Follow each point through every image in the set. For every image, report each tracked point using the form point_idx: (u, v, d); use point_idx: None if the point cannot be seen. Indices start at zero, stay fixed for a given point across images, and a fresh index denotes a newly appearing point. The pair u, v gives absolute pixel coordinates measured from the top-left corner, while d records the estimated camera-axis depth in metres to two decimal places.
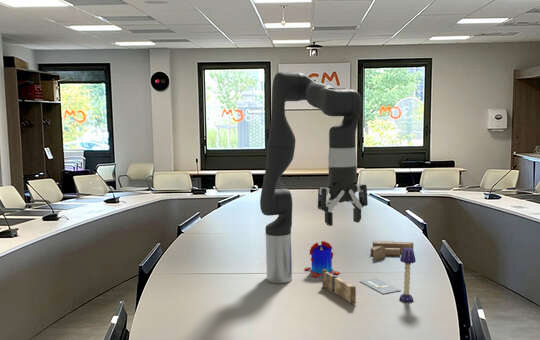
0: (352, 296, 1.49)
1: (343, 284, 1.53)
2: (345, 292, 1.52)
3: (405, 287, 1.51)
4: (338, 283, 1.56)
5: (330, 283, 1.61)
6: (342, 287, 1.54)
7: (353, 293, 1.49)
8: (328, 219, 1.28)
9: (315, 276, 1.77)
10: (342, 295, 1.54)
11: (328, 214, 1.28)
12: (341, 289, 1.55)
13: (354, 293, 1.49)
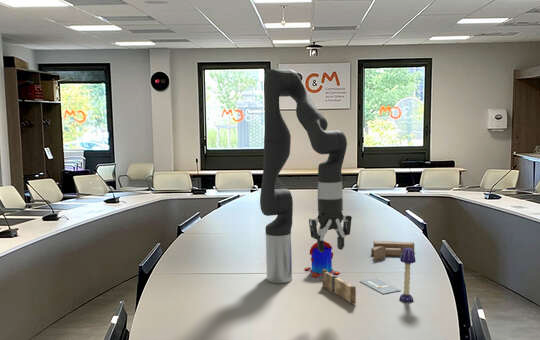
0: (352, 296, 1.49)
1: (343, 284, 1.53)
2: (345, 292, 1.52)
3: (405, 287, 1.51)
4: (338, 283, 1.56)
5: (330, 283, 1.61)
6: (342, 287, 1.54)
7: (353, 293, 1.49)
8: (320, 246, 1.45)
9: (315, 276, 1.77)
10: (342, 295, 1.54)
11: (320, 242, 1.45)
12: (341, 289, 1.55)
13: (354, 293, 1.49)
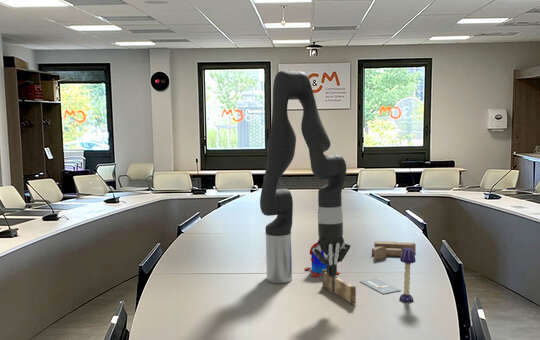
0: (352, 296, 1.49)
1: (343, 284, 1.53)
2: (345, 292, 1.52)
3: (405, 287, 1.51)
4: (338, 283, 1.56)
5: (330, 283, 1.61)
6: (342, 287, 1.54)
7: (353, 293, 1.49)
8: (329, 271, 1.47)
9: (315, 276, 1.77)
10: (342, 295, 1.54)
11: (329, 267, 1.47)
12: (341, 289, 1.55)
13: (354, 293, 1.49)
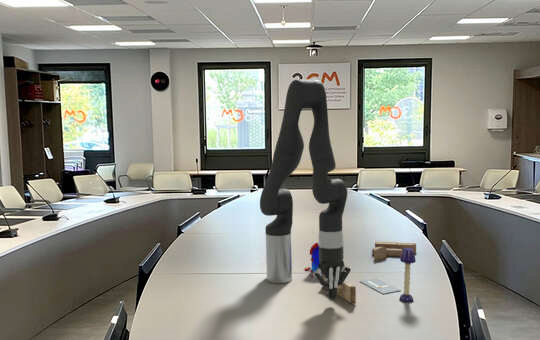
0: (352, 296, 1.49)
1: (343, 284, 1.53)
2: (345, 292, 1.52)
3: (405, 287, 1.51)
4: None
5: None
6: (342, 287, 1.54)
7: (353, 293, 1.49)
8: (329, 294, 1.48)
9: None
10: (342, 295, 1.54)
11: (329, 290, 1.48)
12: (341, 289, 1.55)
13: (354, 293, 1.49)
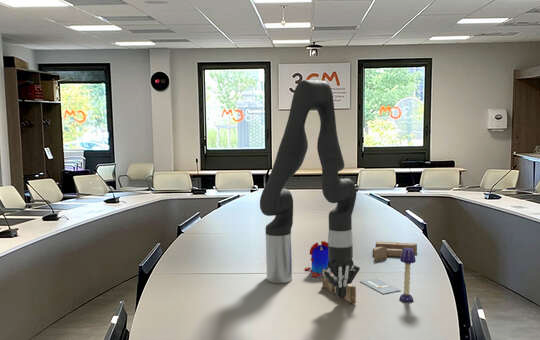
0: (352, 296, 1.49)
1: None
2: None
3: (405, 287, 1.51)
4: None
5: None
6: None
7: (353, 293, 1.49)
8: (339, 293, 1.49)
9: (315, 276, 1.77)
10: None
11: (339, 289, 1.49)
12: None
13: (354, 293, 1.49)
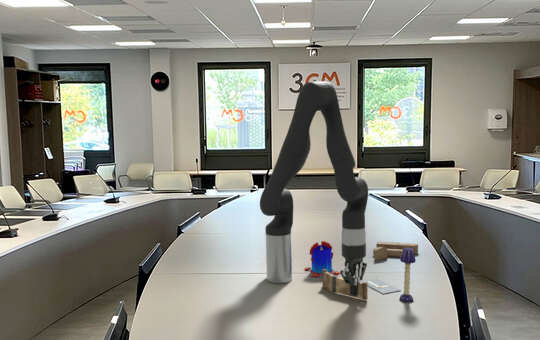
0: (365, 292, 1.52)
1: None
2: None
3: (405, 287, 1.51)
4: (342, 282, 1.57)
5: (330, 283, 1.61)
6: (348, 285, 1.55)
7: (366, 289, 1.52)
8: (354, 291, 1.50)
9: (315, 276, 1.77)
10: (349, 293, 1.56)
11: (354, 287, 1.50)
12: (347, 288, 1.56)
13: (367, 289, 1.52)
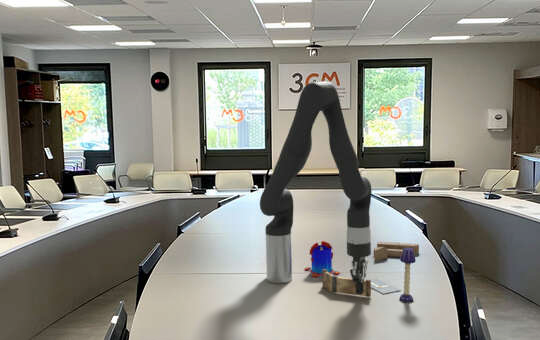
0: (369, 289, 1.54)
1: None
2: None
3: (405, 287, 1.51)
4: (344, 281, 1.58)
5: (330, 283, 1.61)
6: (351, 284, 1.57)
7: (370, 286, 1.54)
8: (360, 289, 1.52)
9: (315, 276, 1.77)
10: (351, 292, 1.57)
11: (360, 285, 1.52)
12: (349, 286, 1.57)
13: (370, 286, 1.55)
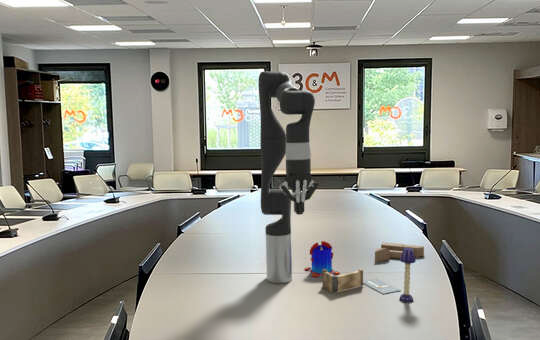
0: (362, 278, 1.65)
1: (351, 275, 1.62)
2: (353, 281, 1.63)
3: (405, 287, 1.51)
4: (343, 278, 1.61)
5: (330, 283, 1.61)
6: (349, 278, 1.62)
7: None
8: (297, 208, 1.46)
9: (315, 276, 1.77)
10: (349, 286, 1.62)
11: (297, 204, 1.46)
12: (348, 281, 1.62)
13: None
